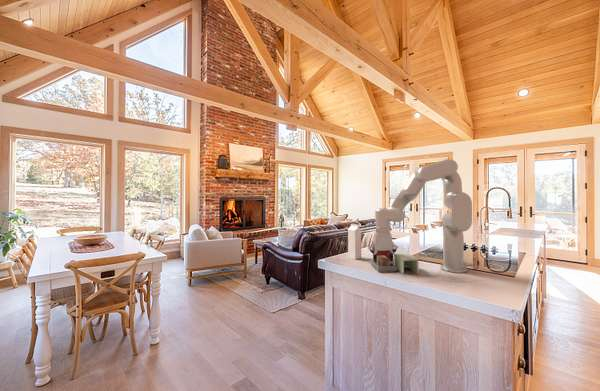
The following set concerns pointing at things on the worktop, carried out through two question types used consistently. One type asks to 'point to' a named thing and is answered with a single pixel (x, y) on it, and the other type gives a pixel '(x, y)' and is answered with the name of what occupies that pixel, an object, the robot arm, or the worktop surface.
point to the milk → (354, 242)
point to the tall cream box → (406, 262)
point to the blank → (383, 261)
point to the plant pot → (383, 252)
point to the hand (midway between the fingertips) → (383, 261)
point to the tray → (384, 267)
